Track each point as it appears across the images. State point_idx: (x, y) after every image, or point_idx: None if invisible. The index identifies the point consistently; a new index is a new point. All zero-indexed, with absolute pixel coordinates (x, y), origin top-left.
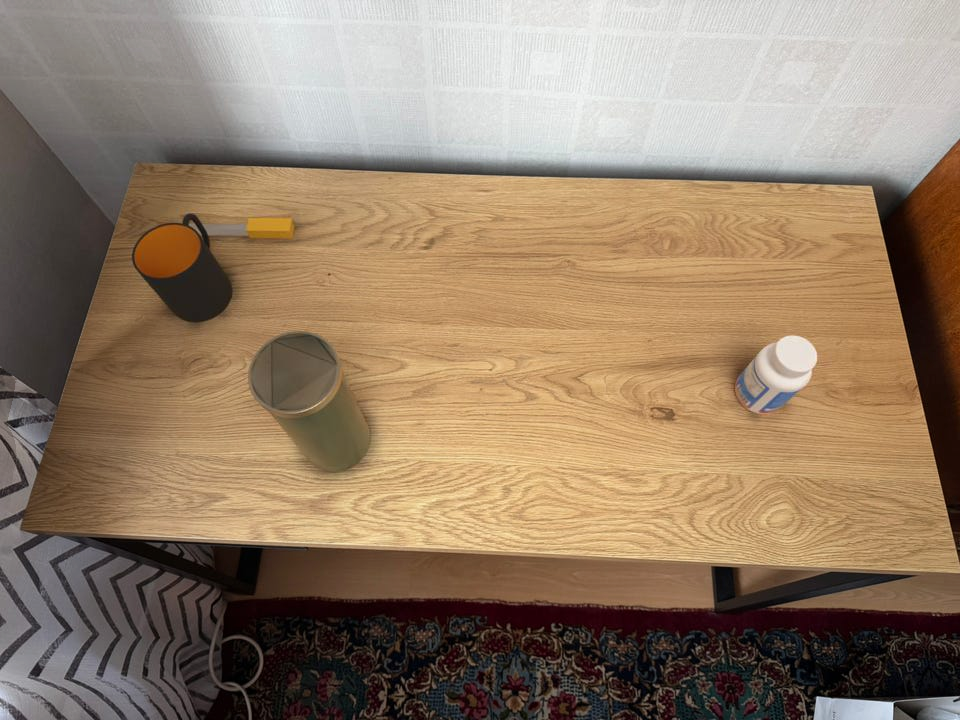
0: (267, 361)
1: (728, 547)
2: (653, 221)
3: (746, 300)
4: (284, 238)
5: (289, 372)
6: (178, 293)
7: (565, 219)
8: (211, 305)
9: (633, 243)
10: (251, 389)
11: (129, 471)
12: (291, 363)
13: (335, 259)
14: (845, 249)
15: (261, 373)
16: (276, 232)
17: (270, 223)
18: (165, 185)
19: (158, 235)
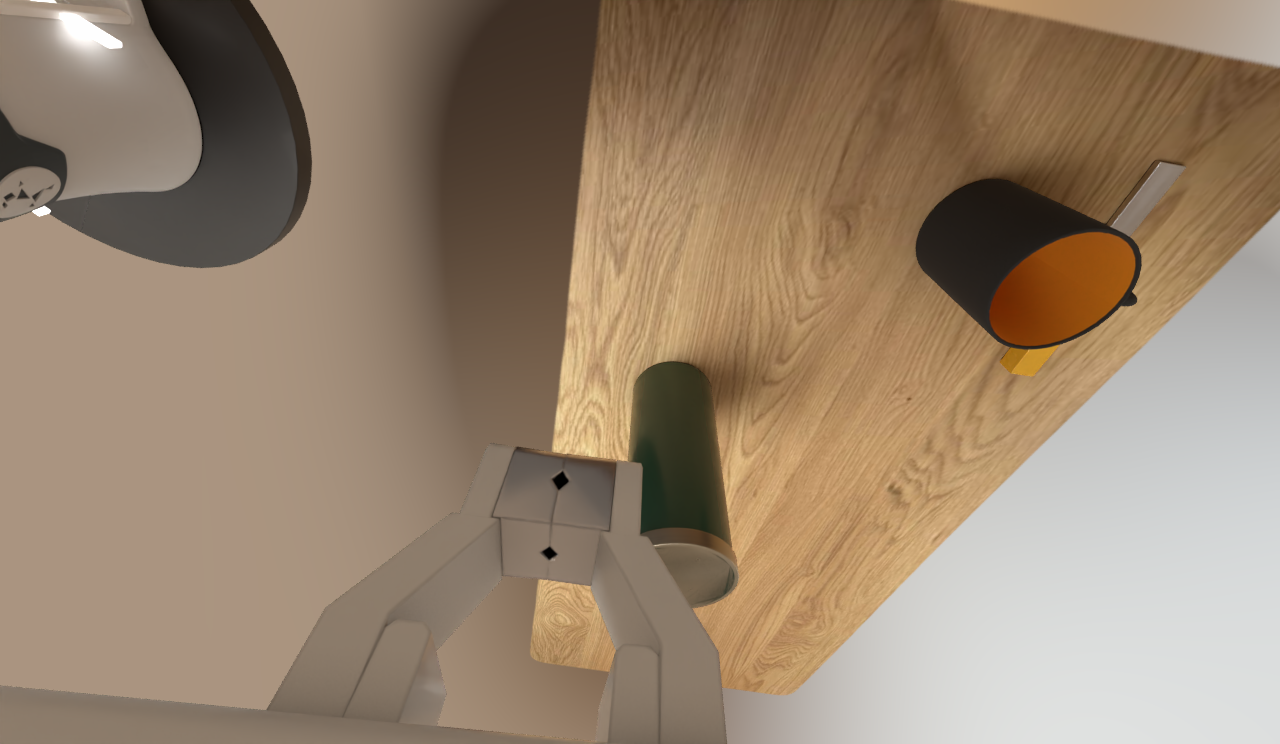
0: (698, 560)
1: (542, 598)
2: (825, 620)
3: (727, 641)
4: (1007, 352)
5: (675, 576)
6: (963, 273)
7: (860, 579)
8: (931, 274)
9: (809, 607)
10: (658, 545)
11: (680, 128)
12: (688, 578)
13: (929, 406)
14: (749, 681)
15: (681, 554)
16: (1021, 354)
17: (1043, 350)
18: None
19: (1119, 258)
